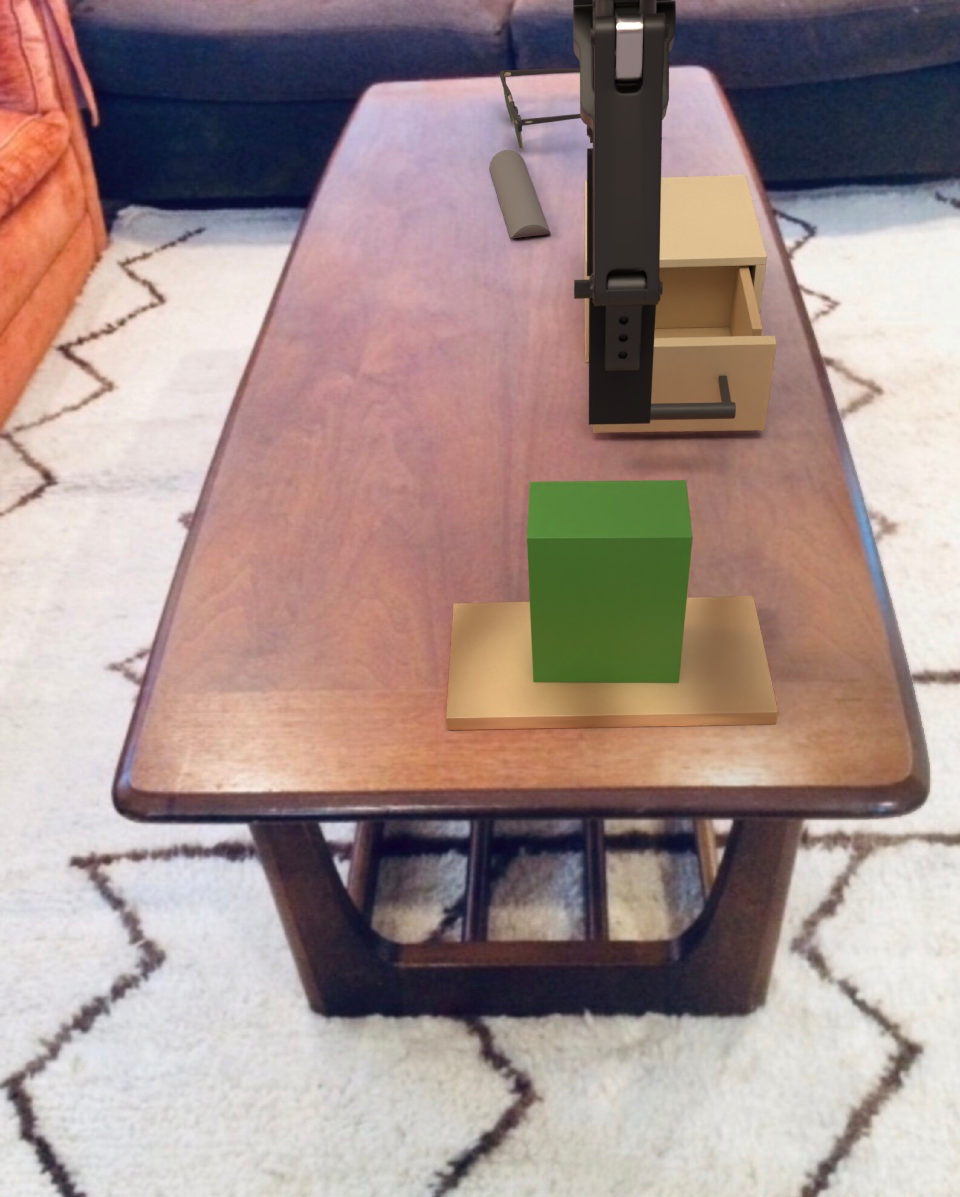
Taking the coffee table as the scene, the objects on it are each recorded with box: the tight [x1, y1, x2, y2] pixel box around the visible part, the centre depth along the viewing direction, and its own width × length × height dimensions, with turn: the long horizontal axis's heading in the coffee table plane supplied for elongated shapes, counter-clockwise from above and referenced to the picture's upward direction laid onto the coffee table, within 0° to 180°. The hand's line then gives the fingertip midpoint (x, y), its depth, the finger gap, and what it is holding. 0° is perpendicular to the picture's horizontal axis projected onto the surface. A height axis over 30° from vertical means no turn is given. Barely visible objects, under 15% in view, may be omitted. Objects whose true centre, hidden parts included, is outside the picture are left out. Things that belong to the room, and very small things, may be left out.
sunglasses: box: [499, 67, 581, 151], centre depth 132 cm, size 16×17×5 cm
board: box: [445, 595, 779, 731], centre depth 70 cm, size 20×10×1 cm, turn 88°
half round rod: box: [489, 149, 551, 239], centre depth 120 cm, size 4×20×2 cm, turn 7°
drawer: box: [592, 265, 778, 434], centre depth 87 cm, size 19×13×8 cm
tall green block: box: [526, 479, 694, 683], centre depth 66 cm, size 5×9×12 cm, turn 86°
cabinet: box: [583, 174, 768, 363], centre depth 98 cm, size 16×15×10 cm
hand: (615, 339), depth 54 cm, fingers open, 13 cm apart
